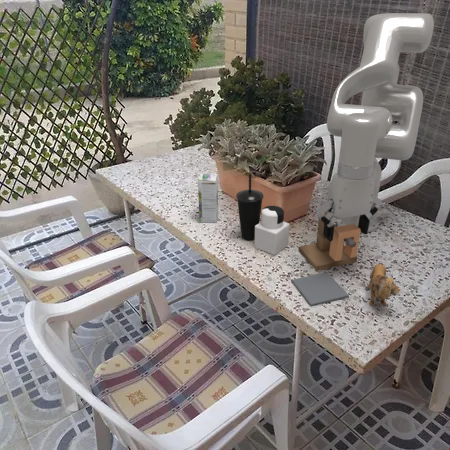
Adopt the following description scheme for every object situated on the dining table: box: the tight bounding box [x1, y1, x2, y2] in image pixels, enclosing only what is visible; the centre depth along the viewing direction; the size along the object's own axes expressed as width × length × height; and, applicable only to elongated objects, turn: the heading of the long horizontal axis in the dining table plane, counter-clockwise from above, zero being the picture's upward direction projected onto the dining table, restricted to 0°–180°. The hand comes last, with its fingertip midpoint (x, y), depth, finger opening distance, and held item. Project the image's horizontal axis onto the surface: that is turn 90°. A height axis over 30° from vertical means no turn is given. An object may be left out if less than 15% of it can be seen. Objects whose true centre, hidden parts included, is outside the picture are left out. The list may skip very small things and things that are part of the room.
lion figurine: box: [366, 263, 401, 307], centre depth 98 cm, size 15×5×9 cm, turn 175°
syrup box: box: [197, 172, 219, 224], centre depth 131 cm, size 6×6×14 cm
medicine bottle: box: [254, 205, 291, 256], centre depth 117 cm, size 7×7×12 cm
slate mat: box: [291, 271, 350, 307], centre depth 102 cm, size 10×10×1 cm
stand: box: [298, 211, 358, 272], centre depth 110 cm, size 12×16×12 cm
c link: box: [329, 224, 361, 261], centre depth 105 cm, size 6×3×8 cm, turn 108°
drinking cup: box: [235, 173, 264, 242], centre depth 120 cm, size 8×8×20 cm
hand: (345, 235), depth 103 cm, fingers open, 9 cm apart
